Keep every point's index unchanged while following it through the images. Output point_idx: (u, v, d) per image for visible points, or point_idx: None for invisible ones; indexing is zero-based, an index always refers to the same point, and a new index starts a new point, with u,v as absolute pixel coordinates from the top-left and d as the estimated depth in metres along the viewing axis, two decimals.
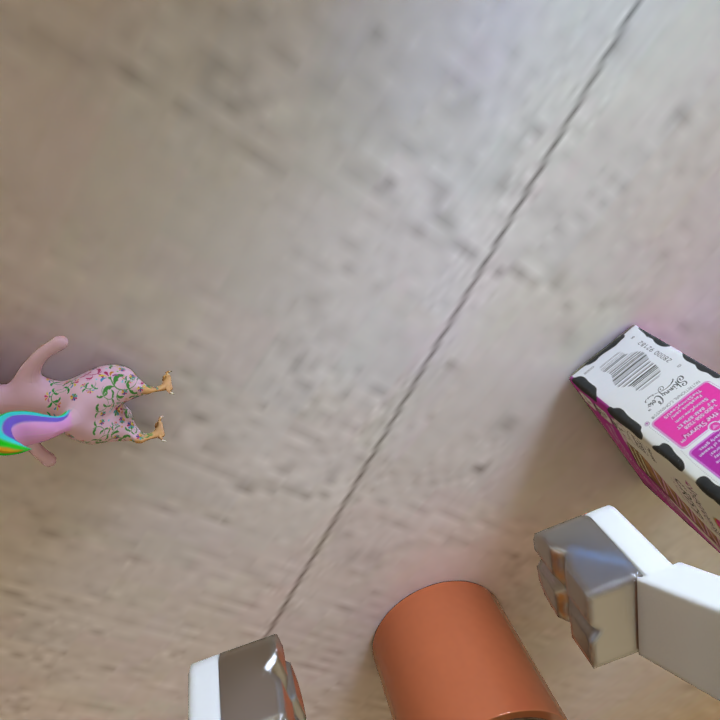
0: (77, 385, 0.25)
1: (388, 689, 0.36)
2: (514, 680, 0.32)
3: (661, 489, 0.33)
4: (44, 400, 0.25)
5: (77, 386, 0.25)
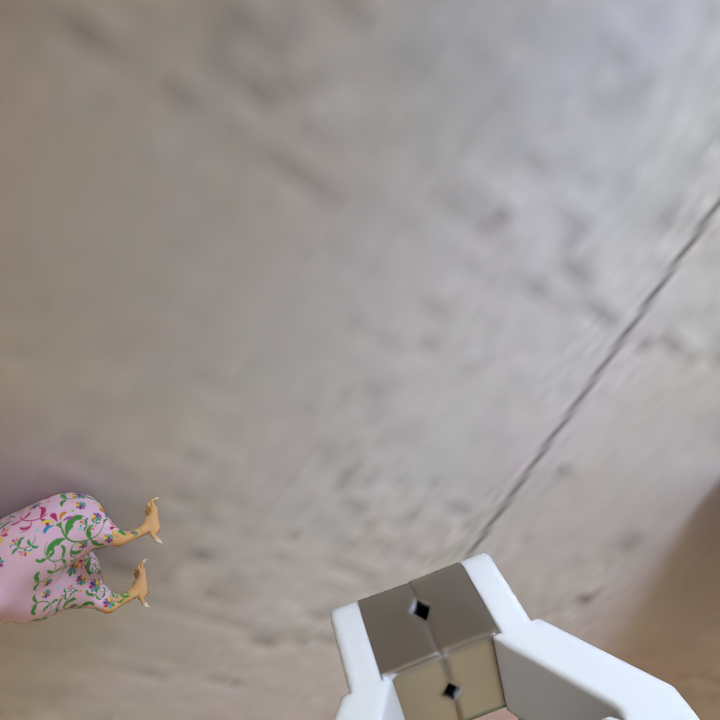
0: (5, 541, 0.16)
1: None
2: None
3: None
4: None
5: (5, 543, 0.16)
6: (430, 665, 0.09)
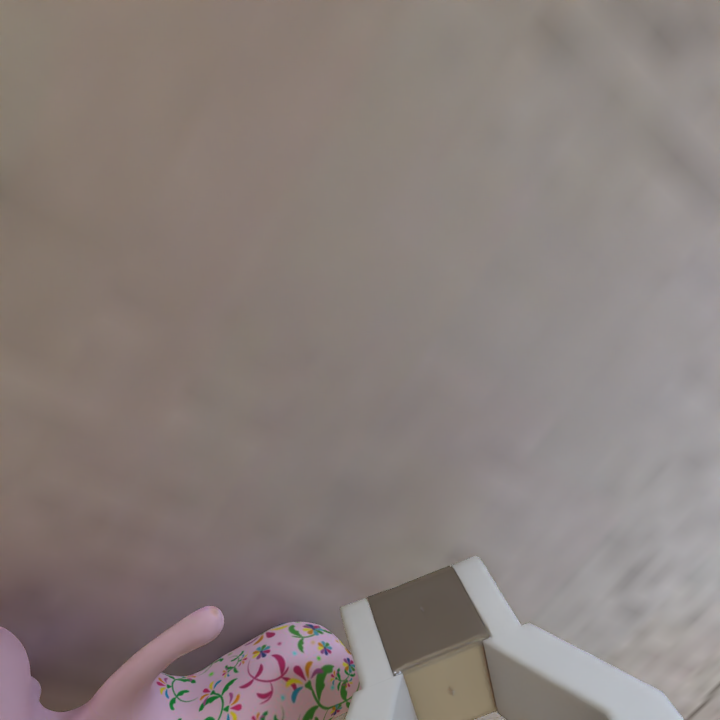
0: (240, 719, 0.10)
1: None
2: None
3: None
4: None
5: None
6: (441, 661, 0.09)
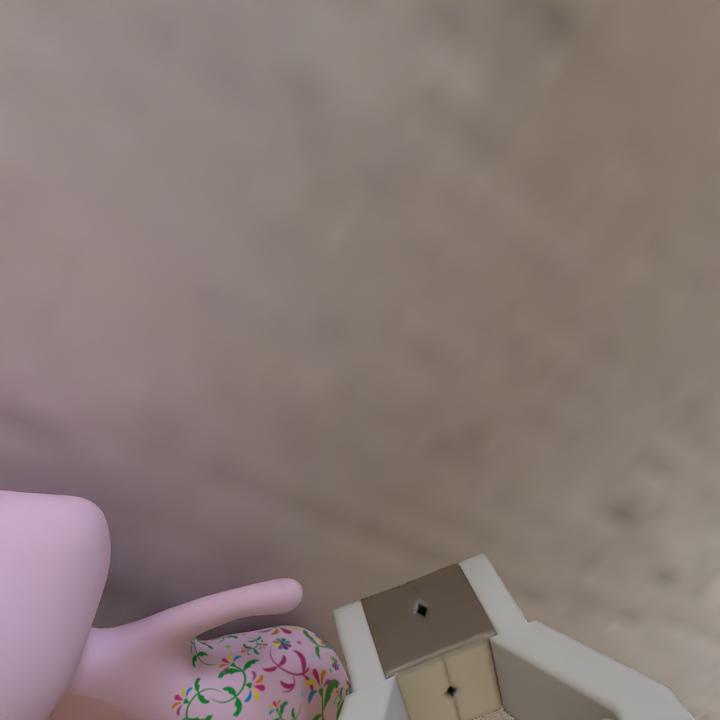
0: (262, 700, 0.10)
1: None
2: None
3: None
4: (169, 707, 0.10)
5: (262, 704, 0.10)
6: (433, 664, 0.09)
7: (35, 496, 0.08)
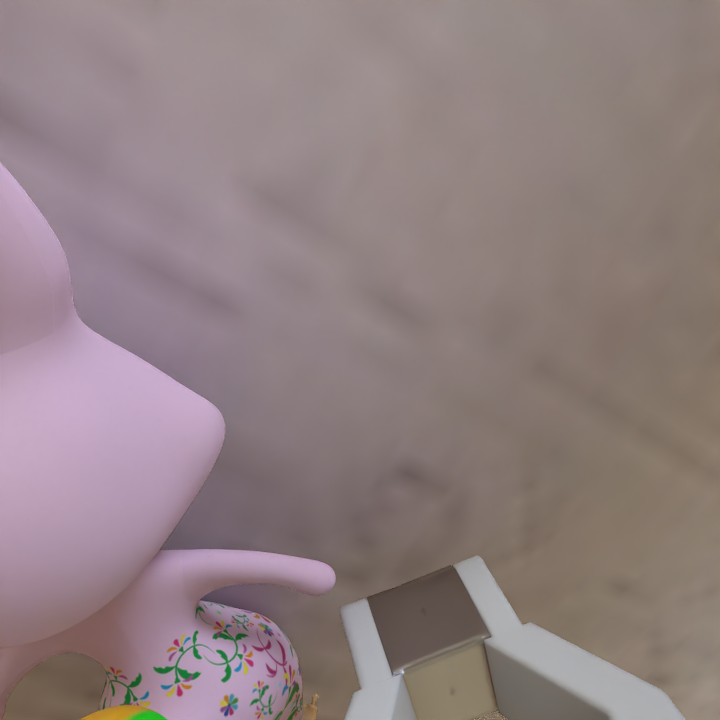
0: (249, 675, 0.10)
1: None
2: None
3: None
4: (165, 648, 0.09)
5: (248, 679, 0.10)
6: (440, 661, 0.09)
7: (182, 385, 0.08)
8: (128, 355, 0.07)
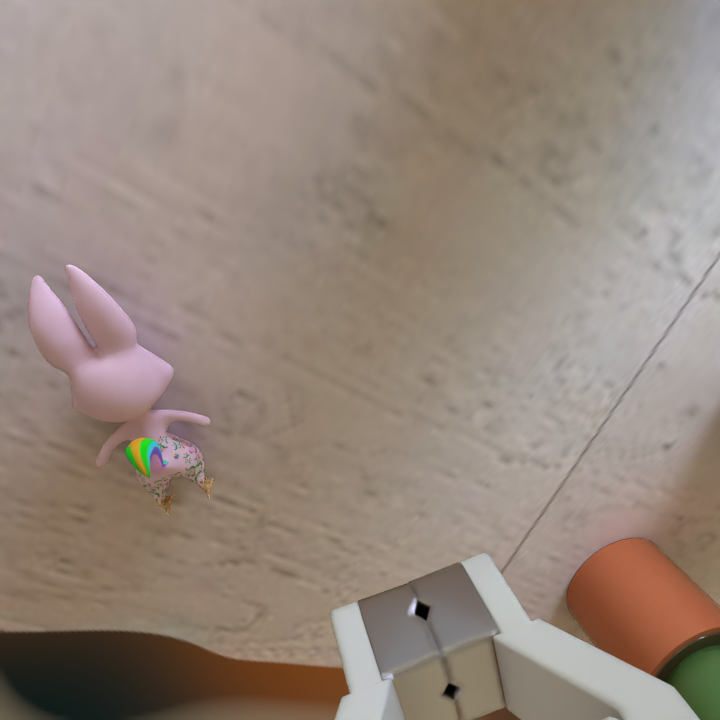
0: (183, 450, 0.32)
1: (595, 621, 0.45)
2: (709, 606, 0.42)
3: None
4: (157, 438, 0.32)
5: (182, 451, 0.32)
6: (430, 665, 0.09)
7: (161, 359, 0.31)
8: (148, 351, 0.30)
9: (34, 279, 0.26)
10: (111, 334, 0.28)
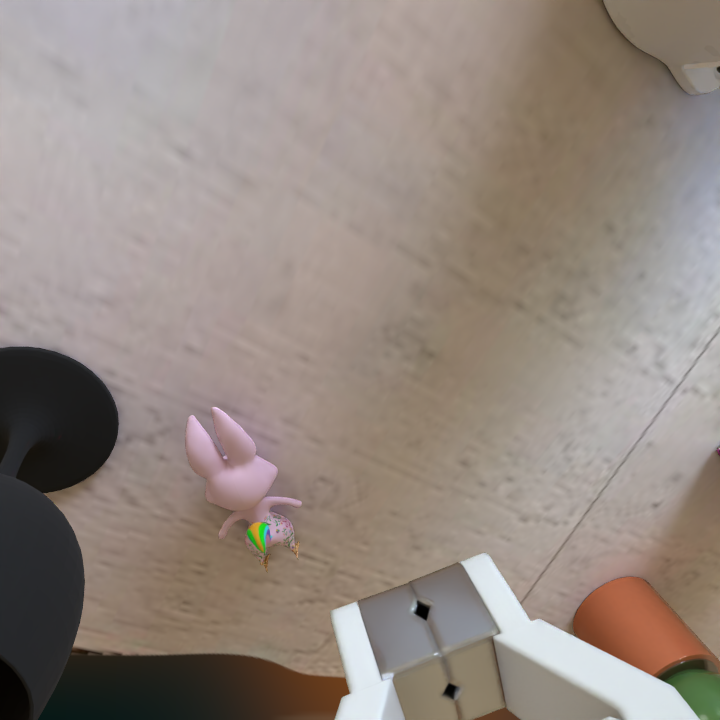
0: (281, 525, 0.43)
1: (595, 645, 0.56)
2: (687, 637, 0.52)
3: None
4: (263, 518, 0.43)
5: (281, 526, 0.43)
6: (430, 665, 0.09)
7: (269, 462, 0.41)
8: (261, 458, 0.41)
9: (190, 418, 0.37)
10: (240, 453, 0.38)
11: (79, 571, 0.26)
